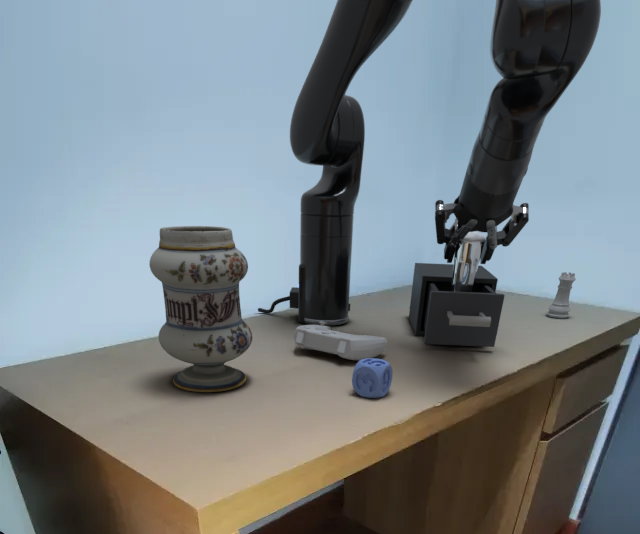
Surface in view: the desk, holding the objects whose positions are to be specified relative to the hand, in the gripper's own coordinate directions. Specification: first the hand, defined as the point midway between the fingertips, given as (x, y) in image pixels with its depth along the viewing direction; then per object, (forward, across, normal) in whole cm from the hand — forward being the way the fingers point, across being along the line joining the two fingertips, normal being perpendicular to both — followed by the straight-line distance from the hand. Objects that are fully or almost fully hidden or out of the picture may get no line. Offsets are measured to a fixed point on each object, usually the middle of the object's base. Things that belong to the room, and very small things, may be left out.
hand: (465, 258), depth 92 cm
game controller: (+1, +20, +17) cm, 27 cm away
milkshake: (+2, 0, +5) cm, 6 cm away
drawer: (+6, 0, +10) cm, 12 cm away
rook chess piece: (+26, -25, -8) cm, 37 cm away
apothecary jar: (-10, +37, +29) cm, 48 cm away
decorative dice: (-12, +15, +30) cm, 36 cm away
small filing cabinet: (+16, 0, +2) cm, 16 cm away
